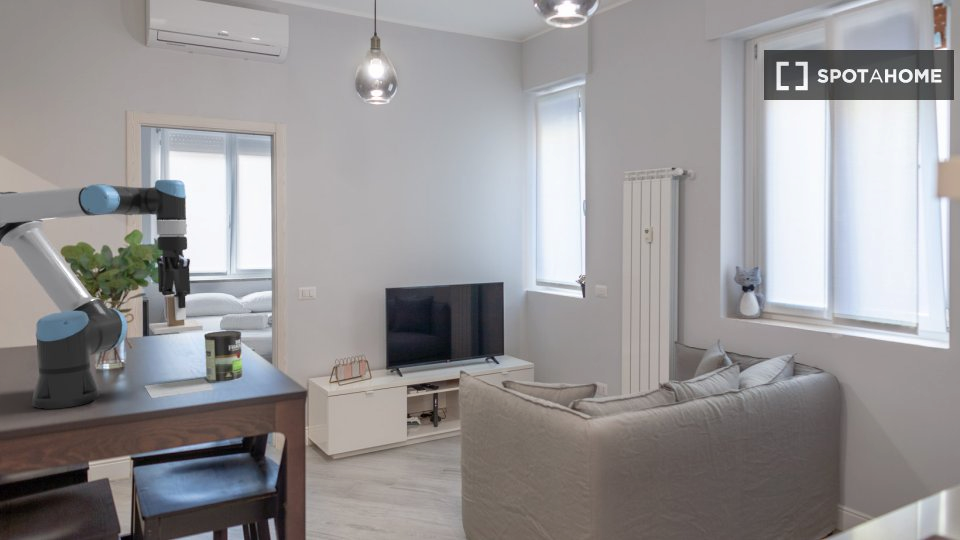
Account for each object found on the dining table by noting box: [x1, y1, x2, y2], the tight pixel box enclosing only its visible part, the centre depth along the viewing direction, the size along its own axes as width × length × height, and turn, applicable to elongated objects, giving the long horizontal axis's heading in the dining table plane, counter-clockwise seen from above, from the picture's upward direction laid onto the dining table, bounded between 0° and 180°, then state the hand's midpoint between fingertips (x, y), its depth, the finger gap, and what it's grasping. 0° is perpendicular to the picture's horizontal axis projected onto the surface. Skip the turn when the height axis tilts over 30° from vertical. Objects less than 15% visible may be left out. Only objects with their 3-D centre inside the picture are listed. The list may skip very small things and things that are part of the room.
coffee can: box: [203, 330, 243, 383], centre depth 199 cm, size 10×10×14 cm
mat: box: [144, 377, 216, 399], centre depth 188 cm, size 16×16×1 cm
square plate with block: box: [148, 296, 203, 335], centre depth 186 cm, size 12×12×9 cm
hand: (175, 318), depth 186 cm, fingers closed on square plate with block, 5 cm apart
